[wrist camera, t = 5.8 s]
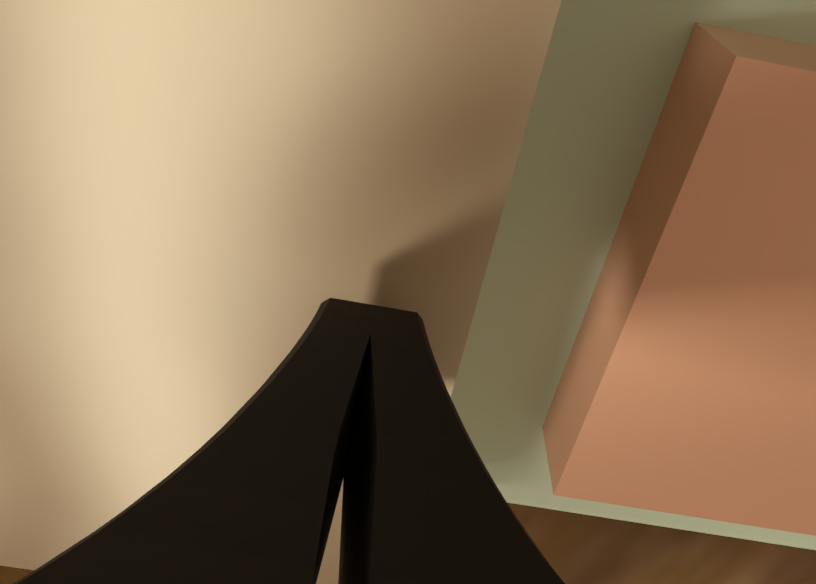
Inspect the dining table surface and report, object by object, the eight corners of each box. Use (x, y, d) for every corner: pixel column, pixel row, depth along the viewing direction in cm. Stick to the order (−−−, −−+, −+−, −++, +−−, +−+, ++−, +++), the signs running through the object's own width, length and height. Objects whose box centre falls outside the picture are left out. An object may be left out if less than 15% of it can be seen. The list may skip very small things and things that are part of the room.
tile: (831, 538, 16) (793, 467, 17) (1133, 135, 11) (1040, 91, 12) (553, 494, 15) (542, 426, 17) (736, 56, 10) (695, 22, 12)
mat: (397, 473, 18) (396, 485, 18) (561, -193, 11) (565, -194, 11) (929, 555, 19) (938, 569, 19) (1419, -5, 12) (1447, 0, 11)
